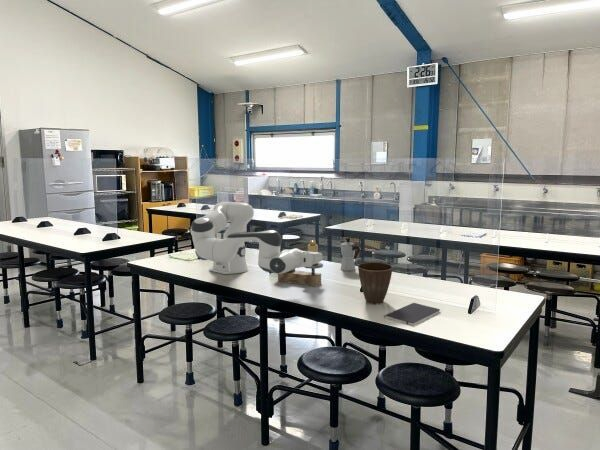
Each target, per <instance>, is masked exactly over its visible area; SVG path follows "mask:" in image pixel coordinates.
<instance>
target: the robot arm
mask: <svg viewBox="0 0 600 450" xmlns="http://www.w3.org/2000/svg"><path fill="white" fill-rule="evenodd" d="M254 215H255V214H254V207H253V206H252V205H250V204H249V203H246V202H239V201H234V202H233V201H221V202H217V203H216V204H215V205H214V207H213V210H212V211H211V212H210V213H208V214H205V215H204V216H202V217H197V218H195V219H194V220H193V221H192V222H191V226H190V234H191V237H192V242H193V247H194V249H195V250H194V253H195V256H196V257H197V258H198V259H200V260H202V261H211V262H213V263H212V266H210V267H209V268H208V270H209V272H215V273H218V274H223V275H229V274H240V273H241V274H242V273H246V272H248V271H249V268H248V267H249V266H248V265H247V259H246V245H245V242H258V243H259V245H258V256H257V257H258V258H257V260H258V261H257V264H258V266H259V268H260V269H261V270H262V271H263V272H266V273H270V274H277V275H278V274H281V273H286V272H289V271H291V270H292V269H295V270H296V269H300V268H305V267H312V265H313V264H317V263H321V262H322V260H323V253H321V252H319V251H318V252H308V250H306V251H305V250H302V249H299V248H297V247H296V248H292V249H291V248H290V249H287V248H286V249H283V250H282V251H281V246H282V242H283V241H282V239H283V237H282V235H281V234H280V233H279V232H278V231H277V230H274V229H269V230H263V231H260V230H259V231H246V227H247V225H248V223H249V222H251V220H252V219H253V218H254ZM228 223H230V224H229V228H228V229H226V227H227V224H228ZM225 229H226V230H225ZM223 230H225V231H224V234H223V238H218V237H216V234H218V233H220V232H221V231H223Z"/></svg>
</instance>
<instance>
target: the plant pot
mask: <svg viewBox="0 0 600 450" xmlns="http://www.w3.org/2000/svg"><path fill="white" fill-rule="evenodd" d="M357 268H358V275H359V277H358V278H359V281H360V286H361V290H362V293H363V296H364V299H365V302H366V303H367V304H371V305H380V304H383V302H384V301H385V298H386V296H387V293H388V291H389V290H388V289H389V286H390V283H391V280H392V273H393V269H394V268H393V266H392V265H391V264H389V263H385V262H373V261H372V262H364V263H360V264H358V265H357Z"/></svg>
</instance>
